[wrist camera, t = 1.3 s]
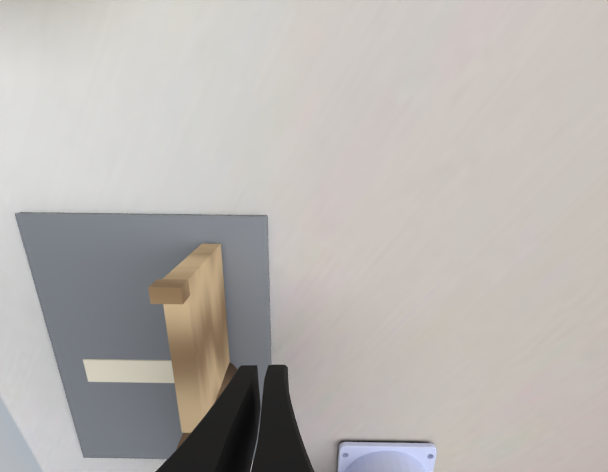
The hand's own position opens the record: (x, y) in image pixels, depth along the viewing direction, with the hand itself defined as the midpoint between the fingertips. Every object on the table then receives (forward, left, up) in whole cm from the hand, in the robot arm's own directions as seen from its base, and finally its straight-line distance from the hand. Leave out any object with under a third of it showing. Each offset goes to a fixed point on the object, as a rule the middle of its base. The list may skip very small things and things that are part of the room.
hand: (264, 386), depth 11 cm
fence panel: (-2, +5, -9) cm, 10 cm away
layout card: (-6, +9, -9) cm, 14 cm away
